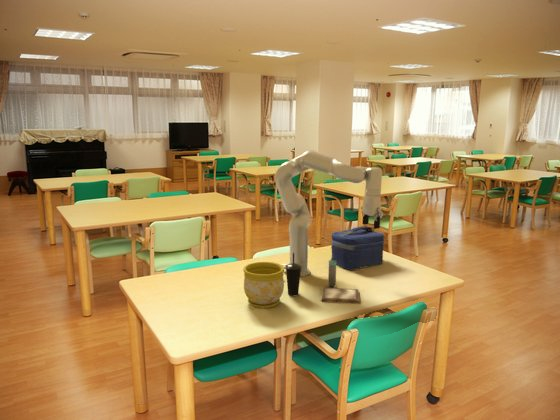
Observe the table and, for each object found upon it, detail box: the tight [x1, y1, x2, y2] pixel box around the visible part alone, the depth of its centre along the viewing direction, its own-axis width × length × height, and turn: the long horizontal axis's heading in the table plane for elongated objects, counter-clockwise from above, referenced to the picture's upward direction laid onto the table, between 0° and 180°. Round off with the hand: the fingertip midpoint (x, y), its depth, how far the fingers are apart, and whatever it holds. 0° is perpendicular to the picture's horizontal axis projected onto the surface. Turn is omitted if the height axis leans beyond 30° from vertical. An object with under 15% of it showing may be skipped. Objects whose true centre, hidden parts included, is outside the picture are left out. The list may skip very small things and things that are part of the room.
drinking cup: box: [285, 253, 302, 297], centre depth 205 cm, size 8×8×20 cm
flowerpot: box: [242, 261, 285, 309], centre depth 195 cm, size 18×18×16 cm
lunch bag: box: [330, 225, 385, 271], centre depth 252 cm, size 31×21×20 cm
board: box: [321, 287, 361, 304], centre depth 204 cm, size 17×14×2 cm
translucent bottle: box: [327, 259, 337, 288], centre depth 215 cm, size 4×4×13 cm
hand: (370, 226), depth 221 cm, fingers open, 9 cm apart
